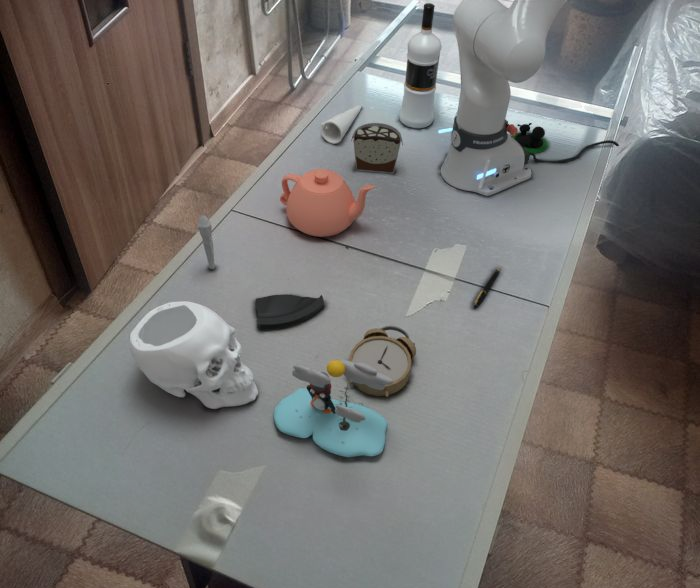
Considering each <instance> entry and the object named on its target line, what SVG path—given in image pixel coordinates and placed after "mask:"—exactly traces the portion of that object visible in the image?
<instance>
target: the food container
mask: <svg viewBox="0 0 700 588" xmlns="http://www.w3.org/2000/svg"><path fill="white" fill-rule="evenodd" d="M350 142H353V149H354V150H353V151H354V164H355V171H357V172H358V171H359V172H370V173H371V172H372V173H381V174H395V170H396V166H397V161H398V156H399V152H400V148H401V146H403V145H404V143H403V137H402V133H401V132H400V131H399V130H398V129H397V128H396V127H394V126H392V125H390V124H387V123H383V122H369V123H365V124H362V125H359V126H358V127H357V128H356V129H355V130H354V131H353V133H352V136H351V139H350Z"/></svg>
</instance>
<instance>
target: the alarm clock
mask: <svg viewBox="0 0 700 588" xmlns="http://www.w3.org/2000/svg"><path fill="white" fill-rule="evenodd" d="M386 331H395V332H398V333H401V334H402V335H404V336H399V337H397V338H396V339H395V338H393V337H389V336H388V333H387V332H386ZM415 345H416V342H413V341H412V339H411V338H410V336H409V333H408V332H407V331H406V330H405V329H403V328H401V327H399V326H396V325H386V326H382V327H380V328H378V327H377V328H371V329H368V330H367V331H366V332H365V333H364V335H363V339H362V340H361V341H359V342H357V343H356V344H355V345H354V347H353V348H352V349H351V351H350V354H349V357H348V361H351V362H354V363H364V364H367V365H369V366H371V367H373V368H374V369H376V370H377V372H378V373H381V374H383V375H386V376H388V377H389V378H391V379H392V380H393V382H392V384H390V385H386V384H385V387H384V389H383V390H378V389H374V388H371V387H368V386H367V385H365V384H360V383H355V382H352V381H350V380H348V385H351V384H353V385H354V386H355V387H356V388H357V389H358V390H359V391H362V392H364V393H366V394H367V395H372V396H375V397H382V396H385V397H386V398H388V397H389V396H390V395H392V394H395V393H398V392H399V391H400V390H401V389H403V388H405V386H406V384H407V383H408V381H409V378H410V375H411V368H412V367H411V366H412V360H413V359H414V358H415V357H416V354H417V348H416V346H415Z"/></svg>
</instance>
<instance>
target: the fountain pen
mask: <svg viewBox="0 0 700 588" xmlns="http://www.w3.org/2000/svg"><path fill="white" fill-rule="evenodd" d="M500 271H501V266H499V267H497V268H496V270H495V271H494V272H493V273H492V275H491V277H490V278H489V280H488V281H487V282H486V284H485V285H484V287H483V288H482V289H481V291H480V292H479V294H478V295H477V297H476V299H475V301H474V304H473V308H474V309H475V308H478V307H479V306H480V305H481V303H482V302H483V301H484V299H485V298H486V296H487V294H488V292H489V291H490V289H491V287H492V285H494V282H495V281H496V279H497V277H498V275H499V273H500Z"/></svg>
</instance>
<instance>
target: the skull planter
mask: <svg viewBox="0 0 700 588" xmlns="http://www.w3.org/2000/svg"><path fill="white" fill-rule="evenodd" d="M235 334H236V329H235V328H234V327H233V326H231V325H229V324H228V323H227V322H226V321H225V320H224V319H223V317H221V316H220V315H219V314H217V313H216V312H215V311H214V310H212V309H210V308H209V307H207V306H205V305H202V304H200V303H197V302H192V301H185V300H184V301H182V300H181V301H171V302H167V303H164V304H162V305H159V306H157V307H155V308H153V309H151V310H150V311H148V312H147V313H146V314H145V315H144V317H143V318H141V320H139V322H138V323H137V324H136V326H135V327H134V328H133V329H132V331H131V332H130V335H129V351H130V355H131V357H132V358H133V360H134V362H135V364H136V365H137V366H138V368H139V369H140V370H141V372H142V373H143V374H144V375H145V376H146V378H147V379H148V380H149V382H151V383H153V384H154V385H156V386H157V387H159V388H160V389H162V390H163V391H165V392H166V393H168V394H171V395H173V396H175V397H176V398H185V396H186V395H187V394H186V393H190V394H191V395H193V396H194V397H196V398H197V399H198V400H199V401H200V402H201V403H202V404H203V405H204V406H205V407H206V408H207V409H211V410H217V409H220V408H224V407H225V408H227V407H238V406H242V405H246V404H248V403H250V402H253V401H255V400H256V398H257V396H258V395H259V390H258V387H257V385H256V382H255V381H254V379H255V376H254V374H253V371H252V370H251V369H250V367H248V366H247V365H245V364H244V363H243V362H242V356H243V354H244V353H243V352H244V351H243V347H242V345H241V343H240V342H239V341H238V340H237V338H236V335H235ZM215 367H216V369H215V370H214V369H213V368H215ZM200 382H201V384H199V383H200ZM198 384H199V385H198ZM196 385H197V386H196ZM218 389H219V391H216V390H218ZM185 391H186V392H185ZM214 391H216V392H214Z"/></svg>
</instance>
